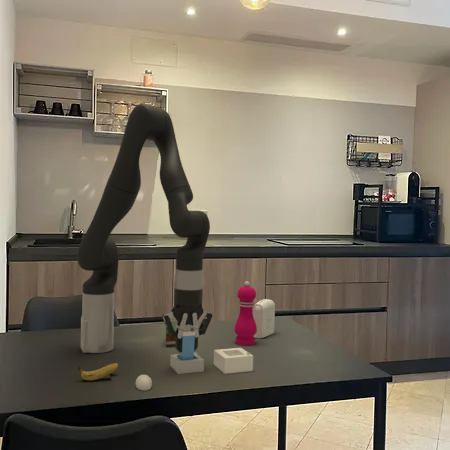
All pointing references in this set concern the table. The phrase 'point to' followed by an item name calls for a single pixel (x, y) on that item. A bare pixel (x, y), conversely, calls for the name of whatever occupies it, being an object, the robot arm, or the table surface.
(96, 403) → the table surface
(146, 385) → the egg
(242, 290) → the pepper mill
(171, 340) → the food container
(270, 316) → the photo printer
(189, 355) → the plug
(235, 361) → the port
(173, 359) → the box
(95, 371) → the banana
